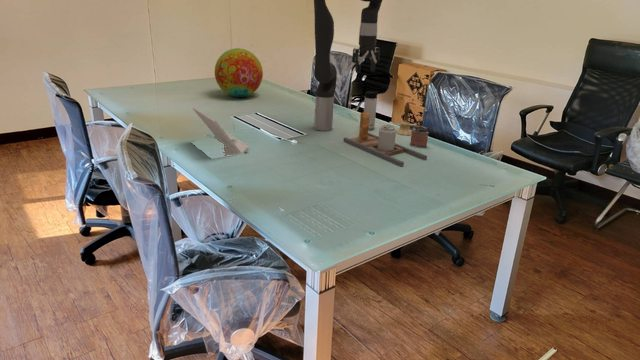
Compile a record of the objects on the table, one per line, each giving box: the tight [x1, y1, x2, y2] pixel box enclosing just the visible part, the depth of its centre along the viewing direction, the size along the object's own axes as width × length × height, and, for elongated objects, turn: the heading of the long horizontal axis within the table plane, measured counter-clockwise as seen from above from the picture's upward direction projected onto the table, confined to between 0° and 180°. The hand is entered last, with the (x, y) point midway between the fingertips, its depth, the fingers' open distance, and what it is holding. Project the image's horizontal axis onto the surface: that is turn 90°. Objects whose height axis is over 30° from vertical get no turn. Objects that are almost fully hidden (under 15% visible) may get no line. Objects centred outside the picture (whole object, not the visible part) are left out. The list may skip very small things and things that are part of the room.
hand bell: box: [396, 102, 412, 136], centre depth 233 cm, size 8×8×16 cm
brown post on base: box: [350, 111, 405, 157], centre depth 211 cm, size 24×12×14 cm, turn 37°
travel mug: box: [363, 90, 379, 131], centre depth 237 cm, size 6×7×20 cm
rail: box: [343, 132, 428, 167], centre depth 210 cm, size 38×16×2 cm, turn 37°
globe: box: [214, 47, 264, 98], centre depth 289 cm, size 30×30×30 cm
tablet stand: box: [191, 106, 250, 156], centre depth 203 cm, size 18×25×17 cm
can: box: [377, 124, 397, 152], centre depth 207 cm, size 8×8×12 cm
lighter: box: [409, 125, 430, 149], centre depth 216 cm, size 8×3×10 cm, turn 71°
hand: (365, 72), depth 203 cm, fingers open, 8 cm apart
